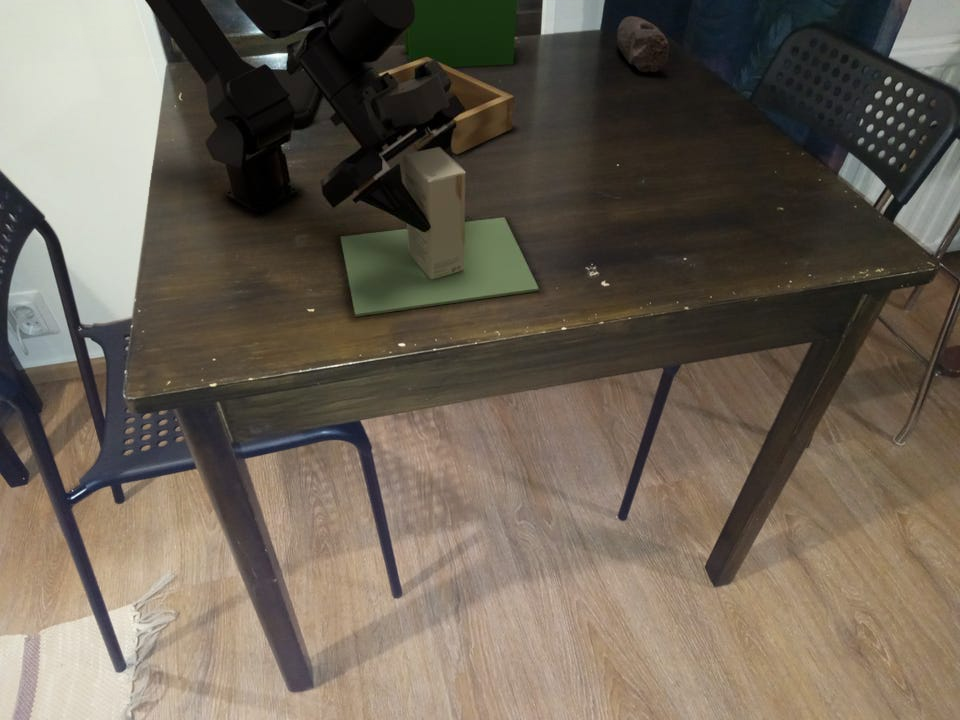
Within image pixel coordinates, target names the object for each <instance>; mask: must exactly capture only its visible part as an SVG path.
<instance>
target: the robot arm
mask: <svg viewBox="0 0 960 720" xmlns="http://www.w3.org/2000/svg"><path fill="white" fill-rule="evenodd" d="M144 1H145V2H146V4H147V5H148V7H149V8H150V10H151V11H152V13H153V14H154V15H155V16H156V18H157V19H158V20H159V22H160V23H161V25H162V26H163V28H164V29H165V31H166V32H167V33H168V35H169V36H170V37H171V39H172V40H173V42H174V43H175V44H176V46H177V48H179V50H180V51H181V53H182V54H183V56H184V57H185V58H186V60H187V61H188V63H189V64H190V66H191V67H192V68H193V69H194V71H195V72H196V73H197V75H198V76H199V78H200V79H201V81H202V82H203V84H204V85H205V93H206V99H207V109H208V114H209V116H210V118H211V119H212V121H213V122H214V124H215V126H216V127H215V128H214V130H213V131H212V133H211V134H210V135H209V137H207V138H206V140H205V142H204V144H205V147H206V148H207V150H208V152H209V154H210V157H211V159H212V160H213V161H216V162H218V163H221V164H223V165H225V168H226V169H225V170H226V173H227V176H228V181H229V185H230V188H231V189H229V190H226V191H225V196H226V198H228V199H230V200H232V201H233V202H235V203H237V204H238V205H240V206H243V207H244V208H246V209H248V210H250V211H251V212H253V213H255V214H258V215H259V214H263V213H264V212H267V211H268V210H270V209H272V208H274V207H275V206H277V205H278V204H279V205H280V204H281V203H283V202H285V201H286V200H288V199H290V198H292V197H294V196H295V195H297V194H298V188H297V187H295V186H293V185H290V184H291V177H290V171H289V167H288V161H287V156H286V153H285V152H283V148H282V145H284V144H288V143H289V142H291V141H292V140H291V139H292V131H293V130H294V128H295V125H294V123H295V121H294V115H295V110H294V107H293V105H292V103H291V101H290V100H289V99H288V97H289V96H290V94H289V93H288V92H287V91H286V90H285V89H284V88H283V87H282V85H281V84H280V83H279V81H278V80H277V78H276V76H275V74H274V72H273V70H272V69H273V68H271V67H270V66H268V64H266V63H263V64H262V65H259V66H257V67H256V66H254V65H252V64H250V63H249V62H247V61H245V60H244V59H243V58H242V56H240V54H239V53H238V51H237V50H236V48H235V47H234V46H233V44H232V43H231V41H230V39H229V38H228V37H227V36H226V34H225V32H224V31H223V30H222V28H221V27H220V25H219V24H218V23H217V21H216V20H215V18H214V16H213V15H212V13H211V12H210V11H209V9H208V8H207V7H206V5H205V3H204V2H203V0H144ZM234 2H235V4H236V6H237V7H238V8H239V9H240V10H241V11H242V12H243V13H244V15H245V16H246V17H247V18H248V19H249V20H250V21H251V23H252V24H253V25H254V26H255V27H256V28H257V29H258V30H259V31H260V32H261V33H262V34H263V35H264V36H266V37H268V38H270V39H273V40H277V39H285V38H288V37H289V36H291V35H294V34H296V33H299V32H300V31H303V30H305V29H307V28H309V27H311V26H313V25H315V24H317V23H320V22H322V23H323V25H324V26H323V25H322V26H321V25H320V26H316V27H313V28H312V29H310V30H309V31H308V33H307V34H306V35H305V36H304V38H299V39H296V40H295V41H293V42H290V43H289V44H287V45H286V53H287V58H286V63H285V65H286V69H287V72H288V74H290V75H293V74H294V73H296V72H298V71H300V70H305V72H306V73H307V74H308V76H309V77H310V79H311V80H312V81H313V83H314V84H315V85H316V87H317V88H318V89H319V91H320V94H321V95H322V96H323V97H324V99H325V100H326V102H327V103H328V104H329V106H330V107H331V109H332V111H334V113H333V114H332V115H331V116H330V117H329V120H330V121H331V123H332V124H333V125H334V126H335V127H338V126H340V125H341V124H343V125H344V126H345V128H347V130H348V131H349V132H350V134H351V135H352V136H353V138H354V139H355V141H356V142H357V143H358V145H359V146H360V148H358V149H357V150H356V151H355V152H354V153H351V154H350V155H349V156H347V157H346V158H344V159H343V160H342V161H340V162H339V163H338V164H337V165H336V166H335V167H334V168H333V169H332V170H331V171H329V172H328V173H327V174H326V175H325V176H324V177H323V178H322V179H321V180H320V187H321V193H322V196H323V197H324V198H325V200H326V201H327V202H328V203H329V205H330V207H332V209H335V208H336V207H337V206H338V205H340V204H341V203H343V202H344V201H346V200H347V199H348V198H349V197H351V196H352V195H353V194H354V192H357V195H356V196H355V197H353V198H352V199H351V200H352V202H353V203H355V204H358V202H363V203H365V204H367V205H370V206H372V207H374V208H376V209H378V210H381V211H382V212H385V213H387V214H389V215H391V216H393V217H395V218H397V219H398V220H400V221H402V222H403V223H405V224H406V225H407V224H409V225H411V226H413V227H415V228H416V229H418V230H420V231H422V232H427V231H428V230H430V229H431V225H430V224H429V222H428V220H427V218H426V216H425V215H424V213H423V212H422V210H421V209H420V208H419V206H418V205H417V203H416V202H415V200H414V199H413V197H412V196H411V195H410V193H409V192H408V190H407V189H406V187H405V183H403V177H402V170H401V164H400V163H397V164H396V165H395V166H393V167H390V165H389V164H388V162H390V161H391V160H392V159H394V158H395V157H397V156H398V155H399V154H401V153H402V152H404V151H405V150H406V149H408V148H409V147H410V146H413V147H414V149H415V150H416V152H418V151H423V150H428V149H432V148H437V147H440V148H441V149H442V150H443V151H445V152H446V153H447V154H448V155H449V156H450V157H451V158H452V159H453V160H454V161H455V158H454V153H453V152H452V149H451V141H452V135H453V130H454V129H455V128H456V122H454V123H453V124H452V125H451V124H450V125H448V124H449V123H451V121H452V120H453V119H454V118H456V117H457V116H458V115H459V114H462V113H464V112H465V111H464V110H466V109H465V108H464V106H463V105H462V103H461V102H460V100H459V99H458V97H457V96H456V95H455V94H452V93H449V92H447V91H449V89H450V86H451V80H450V78H449V77H448V76H447V73H446V72H445V71H444V69H443V68H442V67H441V66H440V64H439V63H438V62H437V61H436V60H435V59H433V60H430V61H426V62H424V63H422V64H421V65H419V66H417V67H416V68H415V78H412V79H410V80H408V81H407V82H404V83H400V84H399V83H398V82H397V81H396V79H395V78H394V76H393V75H391V74H389V73H388V72H387V73H385V74H383V75H381V76H379V74H380V73H379V72H377V70H376V68H375V67H374V65H373V64H372V63H374V62H375V63H376V61H379V60H380V58H382V56H384V54H385V53H386V52H387V51H388V50H389V49H390V48H391V46H392V45H393V44H394V43H395V42H396V41H398V39H399V38H400V37H401V36H402V35H404V32H405V31H406V30H407V29H408V28H409V27H410V26H411V24H412V23H413V22H414V19H415V6H414V3H413V0H234ZM400 137H401V138H400ZM386 145H387V147H386V148H385V149H384V148H383V147H384V146H386Z"/></svg>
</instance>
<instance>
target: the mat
mask: <svg viewBox="0 0 960 720" xmlns="http://www.w3.org/2000/svg"><path fill="white" fill-rule="evenodd" d="M340 241H341V242H340V243H341V246H342V247H341V248H342V253H343V254H342V255H343V258H344V259H343V260H344V264H345V269H346V273H347V274H346V275H347V279H348V286H349V290H350V291H349V292H350V295H351V302H352V305H353V306H352V307H353V311H354V317H356V318H357V317H364V316H365V317H366V316H371V315H378V314H379V315H380V314H385V313H392V312H398V311H399V312H400V311H406V310H414V309H421V308H427V307H436V306H443V305H449V304H450V305H451V304H455V303H463V302H470V301H477V300H484V299H491V298H499V297H506V296H512V295H522V294H526V293H534V292H539V289H540V287H539V286H538V283H537V282H536V279H535V277H534V276H533V273H532V272H531V269H530V267H529V265H528V264H527V261H526V259H525V257H524V255H523V253H522V250H521V248H520V246H519V244H518V242H517V240H516V237H515V236H514V234H513V232H512V230H511V228H510V226H509V224H508V222H507V220H506V218H505V216H503V217H495V218H487V219H486V218H485V219H478V220H470V221H465V240H464V270H461V271H459V272H455V273H452V274H449V275H446V276H442V277H439V278H435V279H430V278H429V277H428V275H427V274H426V273H425V272H424V271H423V270H422V268H421V267H420V266H419V265H418V264H417V262H416V261H415V260H414V259H413V257H412V256H411V254H410V253H409V251H408V232H407V228H403V229H402V228H401V229H394V230H385V231H378V232H376V231H375V232H369V233H361V234H352V235H344V236H340Z"/></svg>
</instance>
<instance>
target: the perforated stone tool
mask: <svg viewBox="0 0 960 720" xmlns="http://www.w3.org/2000/svg"><path fill="white" fill-rule="evenodd" d="M616 41H617V47H618V50H619V51H620V53H621V55H623V57H624V58H625V60H626V61H627V62H628V64H629V65H631V66H633V67H636V69H637V71H639V72H641V73H649V72H650V73H656V72H659V71H660V70H662V69H663V68H665V65H666V63H667V61H668V57H669V50H670V49H669V47H670V45H669V41H668V39H667V37H666V36H665V35H664V33H663V32H662V31H661V30H660V29H659V28H658V27H657V26H656V25H655V24H653V23H652V22H650V21H648V20H646V19H644V18H642V17H639V16H633V15H630V16H626V17H624V18H623V19H621V21H620V23H619V25H618V27H617V32H616Z"/></svg>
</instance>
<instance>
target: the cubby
mask: <svg viewBox="0 0 960 720" xmlns="http://www.w3.org/2000/svg"><path fill="white" fill-rule="evenodd" d="M430 60H433V59H431V58H429V57H425V58H422V59H419V60H416V61H413V62H411V63H409V62H408V63H405V64H402V65H399V66H397V67H394V68H391V69H389V70H385V71H383V72H380V73H378V74H379V76H381V75H383V74H385V73H387V72H388V73H389V74H391V75H393V76H394V78H395V79H396V81H397V82H398V83H399V84H400V83H404V82H407V81H408V80H410V79H412V78H415V68H416V67H417V66H419V65H421V64H422V63H424V62H426V61H430ZM438 63H439V64H440V66H441V67H442V68H443V69H444V71H445V72H446V73H447V76H448V77H449V78H450V80H451V86H450V89H449V91H447V92H449V93H452V94H455V95H456V96H457V97H458V99H459V100H460V102H461V103H462V105H463V106H464V108H465V109H466V110H464V111H463V112H462V113H461V114H459V115H458V116H457V117H456V118H454V119H453V120H452V121H451V122H450V125H452V124H453V123H454V122H456V128H455V129H454V130H453V135H452V141H451V149H452V153H453V154H455V155H459V154H462V153H464V152H466V151H468V150H470V149H472V148H474V147H476V146H479V145H481V144H483V143H485V142H487V141H489V140H491V139H493V138H496V137H498V136H500V135H502V134H504V133H507V132H508V131H511V130H512V129H513V118H514V117H513V116H514V103H515V102H514V101H515V96H514V95H512V94H510V93H508V92H506V91H503V90H502V89H499V88H497V87H495V86H492V85H491V84H487V83H486V82H483V81H481V80H479V79H477V78H475V77H472V76H470V75H468V74H466V73H464V72H462V71H459V70H457V69H455V68H454V67H448V66H446V65H444V64H442V63H440V62H438Z"/></svg>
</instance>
